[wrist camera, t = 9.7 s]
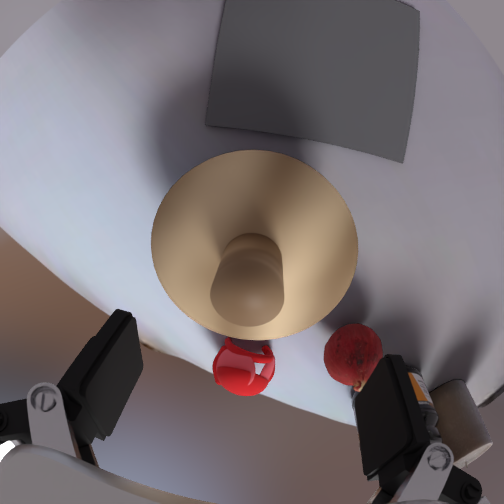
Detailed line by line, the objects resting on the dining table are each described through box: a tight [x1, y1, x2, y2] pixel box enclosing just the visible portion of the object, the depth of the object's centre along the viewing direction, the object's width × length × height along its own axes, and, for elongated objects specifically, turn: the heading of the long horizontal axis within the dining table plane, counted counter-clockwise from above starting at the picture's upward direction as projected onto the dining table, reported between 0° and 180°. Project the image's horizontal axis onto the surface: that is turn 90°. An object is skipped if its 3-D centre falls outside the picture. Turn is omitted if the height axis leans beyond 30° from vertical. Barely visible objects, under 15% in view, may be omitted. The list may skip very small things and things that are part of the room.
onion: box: [324, 323, 383, 392], centre depth 24 cm, size 6×6×8 cm
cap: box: [213, 337, 275, 396], centre depth 28 cm, size 8×6×6 cm
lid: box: [151, 150, 358, 340], centre depth 16 cm, size 13×13×5 cm
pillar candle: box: [429, 380, 493, 469], centre depth 27 cm, size 10×10×15 cm
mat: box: [205, 0, 420, 163], centre depth 17 cm, size 16×15×1 cm
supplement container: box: [352, 366, 443, 451], centre depth 27 cm, size 10×10×12 cm
